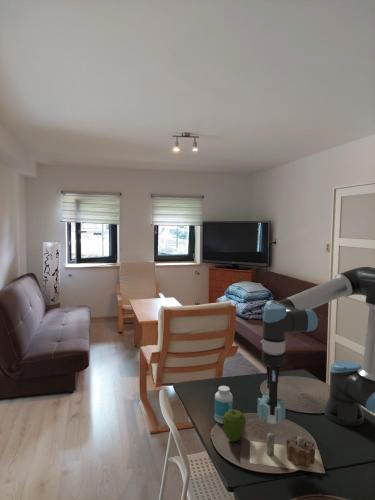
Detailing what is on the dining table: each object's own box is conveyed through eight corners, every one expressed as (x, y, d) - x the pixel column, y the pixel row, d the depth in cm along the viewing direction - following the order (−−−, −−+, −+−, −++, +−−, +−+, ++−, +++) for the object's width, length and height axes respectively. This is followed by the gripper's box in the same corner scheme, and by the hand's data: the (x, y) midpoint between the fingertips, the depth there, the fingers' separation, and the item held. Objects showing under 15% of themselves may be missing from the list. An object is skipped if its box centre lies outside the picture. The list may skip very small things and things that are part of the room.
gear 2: (311, 451, 122) (312, 437, 121) (316, 468, 113) (317, 454, 112) (285, 447, 123) (286, 434, 123) (288, 464, 114) (288, 450, 114)
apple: (229, 449, 124) (230, 419, 123) (218, 436, 132) (218, 407, 131) (249, 444, 128) (250, 414, 127) (237, 431, 135) (238, 403, 134)
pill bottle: (231, 425, 139) (232, 393, 138) (213, 423, 140) (213, 391, 140) (232, 415, 146) (233, 385, 145) (215, 413, 148) (216, 383, 147)
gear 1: (255, 408, 123) (255, 394, 123) (280, 409, 123) (281, 395, 123) (260, 422, 114) (260, 408, 114) (287, 423, 114) (288, 408, 114)
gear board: (318, 453, 123) (319, 430, 122) (325, 477, 111) (326, 452, 110) (249, 444, 127) (250, 422, 127) (249, 467, 115) (250, 442, 115)
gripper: (261, 339, 129) (259, 398, 130) (262, 362, 107) (260, 432, 109) (282, 341, 127) (279, 400, 129) (287, 364, 106) (285, 435, 107)
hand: (270, 414), depth 119 cm, fingers closed on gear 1, 9 cm apart
